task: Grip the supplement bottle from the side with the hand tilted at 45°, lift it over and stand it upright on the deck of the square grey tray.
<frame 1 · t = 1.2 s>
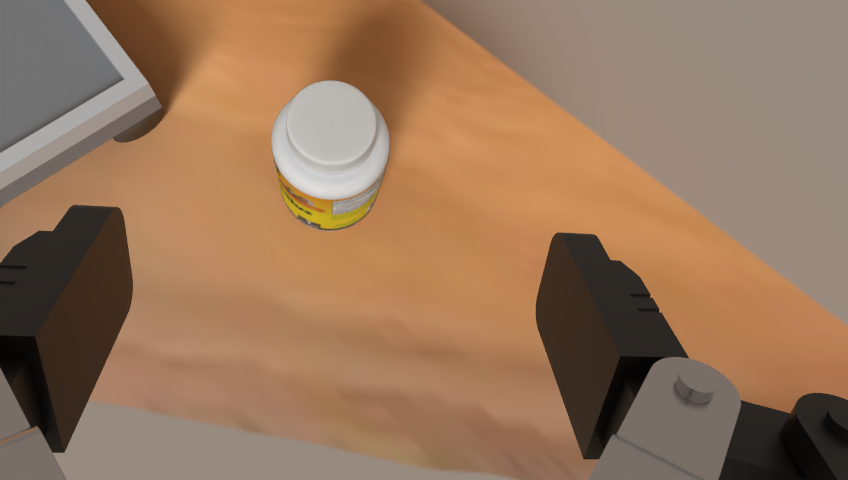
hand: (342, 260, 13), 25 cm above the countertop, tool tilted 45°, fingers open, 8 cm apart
supplement bottle: (329, 188, 39), on the countertop
square grey tray: (1, 113, 37), on the countertop
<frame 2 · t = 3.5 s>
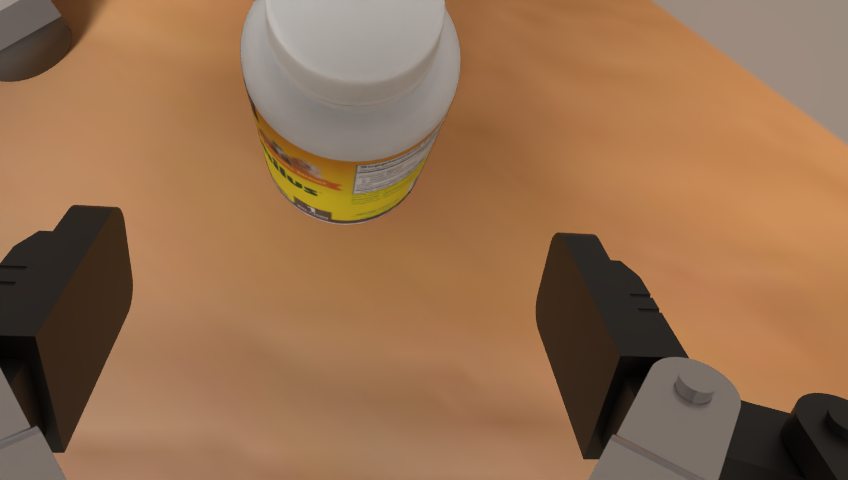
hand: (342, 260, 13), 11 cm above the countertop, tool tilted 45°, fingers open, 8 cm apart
supplement bottle: (344, 157, 25), on the countertop
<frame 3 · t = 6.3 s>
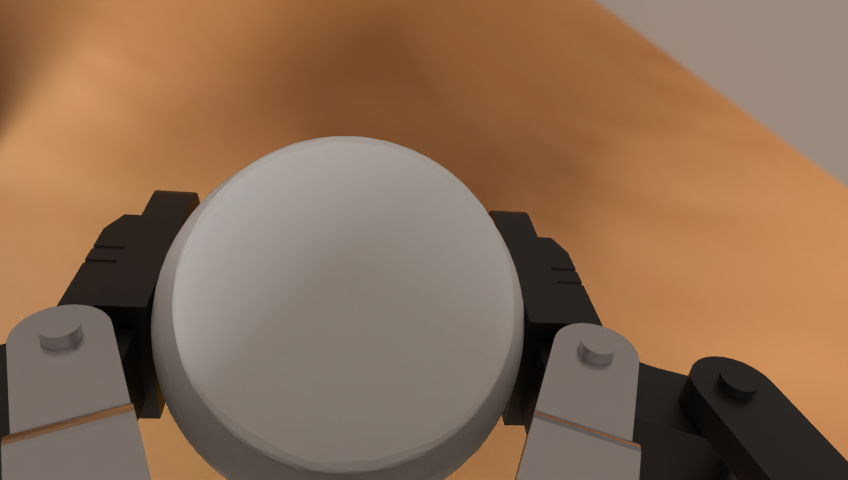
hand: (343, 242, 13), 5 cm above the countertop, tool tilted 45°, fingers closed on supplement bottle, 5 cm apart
supplement bottle: (336, 348, 18), on the countertop, touching gripper
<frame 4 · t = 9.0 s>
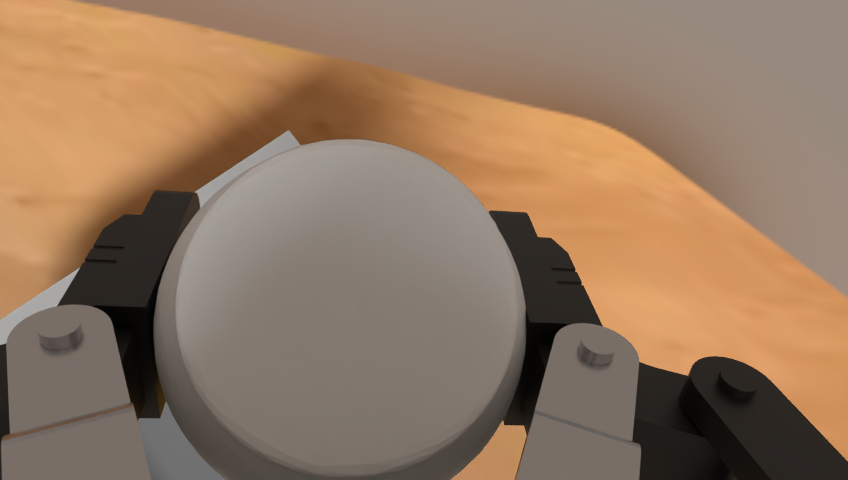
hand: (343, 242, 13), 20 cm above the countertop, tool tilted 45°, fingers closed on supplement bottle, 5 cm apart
supplement bottle: (337, 350, 18), point 15 cm above the countertop, touching gripper
square grey tray: (250, 357, 31), on the countertop
when the fingers open (11 cm above the countertop, at t = 12.1 s): supplement bottle drops 1 cm, resting on square grey tray.
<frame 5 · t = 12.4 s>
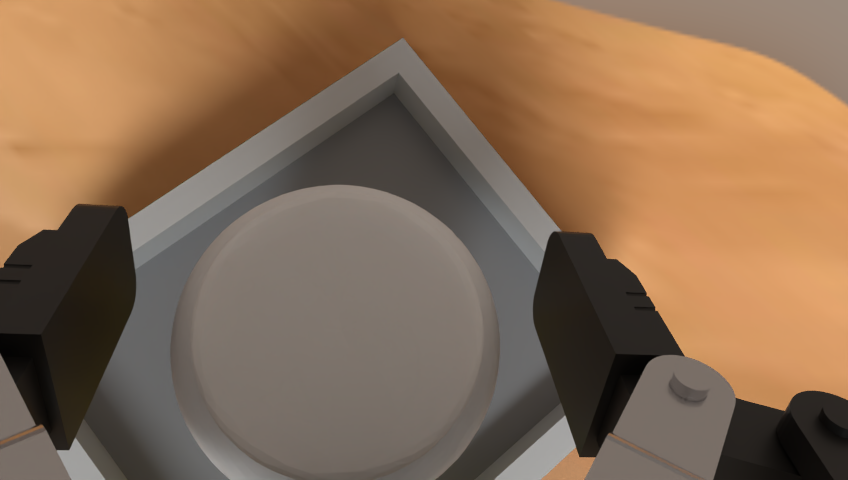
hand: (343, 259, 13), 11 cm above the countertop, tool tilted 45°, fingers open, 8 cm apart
supplement bottle: (338, 360, 19), point 4 cm above the countertop, touching square grey tray
square grey tray: (333, 358, 23), on the countertop
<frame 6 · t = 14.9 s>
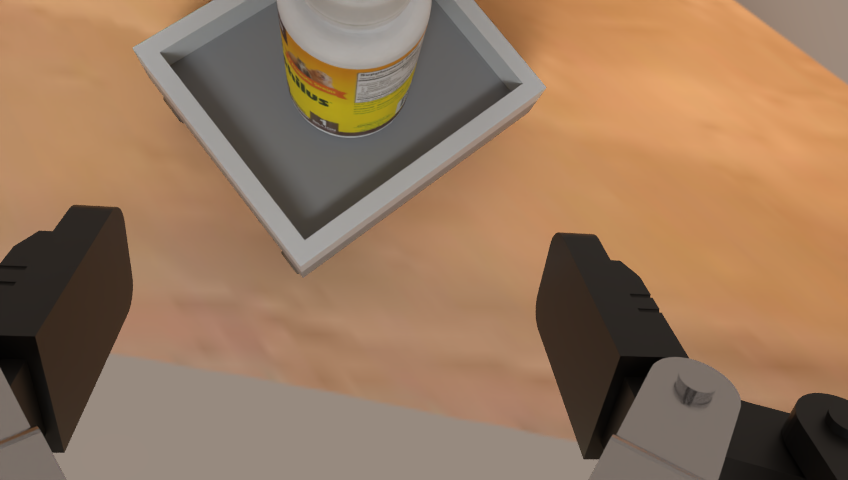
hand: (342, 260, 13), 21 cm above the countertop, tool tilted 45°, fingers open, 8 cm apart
supplement bottle: (348, 88, 32), point 4 cm above the countertop, touching square grey tray
square grey tray: (344, 119, 36), on the countertop
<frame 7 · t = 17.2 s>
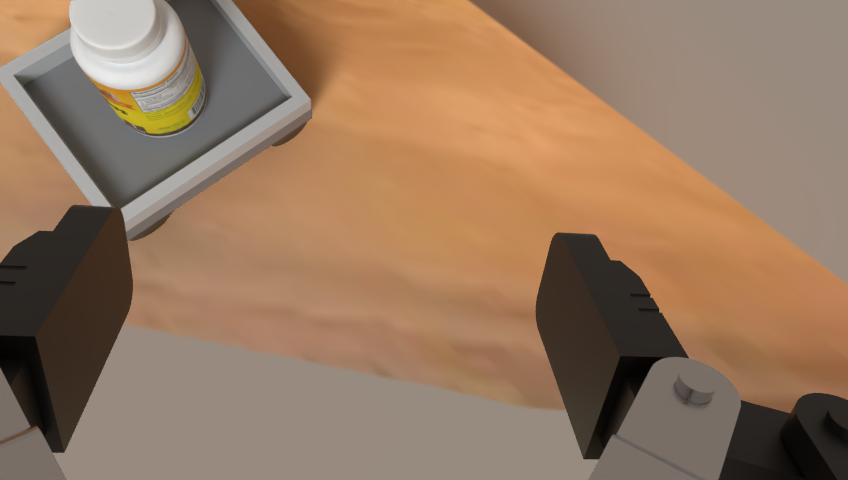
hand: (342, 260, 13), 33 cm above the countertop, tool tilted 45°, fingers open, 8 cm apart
supplement bottle: (163, 100, 42), point 4 cm above the countertop, touching square grey tray
square grey tray: (177, 123, 46), on the countertop
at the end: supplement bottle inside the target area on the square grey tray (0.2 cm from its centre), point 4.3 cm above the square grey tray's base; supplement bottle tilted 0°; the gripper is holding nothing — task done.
